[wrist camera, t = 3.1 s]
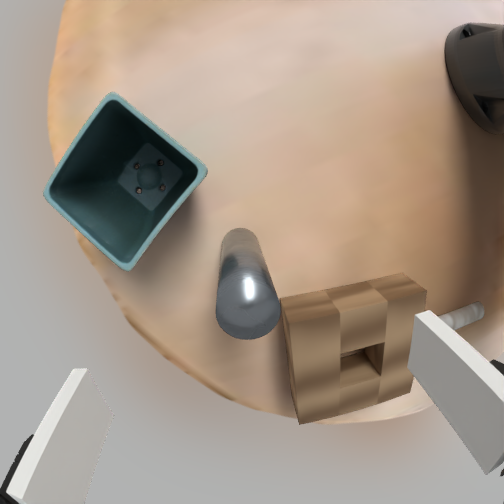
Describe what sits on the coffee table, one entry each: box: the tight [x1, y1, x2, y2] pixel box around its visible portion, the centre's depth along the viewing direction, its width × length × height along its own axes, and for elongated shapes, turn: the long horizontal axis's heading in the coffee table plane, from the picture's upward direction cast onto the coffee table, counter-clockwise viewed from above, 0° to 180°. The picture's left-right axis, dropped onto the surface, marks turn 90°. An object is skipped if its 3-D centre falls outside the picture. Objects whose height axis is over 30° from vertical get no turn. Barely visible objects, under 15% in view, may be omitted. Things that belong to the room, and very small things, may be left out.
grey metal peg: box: [216, 228, 281, 340], centre depth 22 cm, size 3×3×13 cm
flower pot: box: [43, 92, 208, 272], centre depth 21 cm, size 9×9×9 cm
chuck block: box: [280, 273, 484, 425], centre depth 30 cm, size 14×26×5 cm, turn 99°
